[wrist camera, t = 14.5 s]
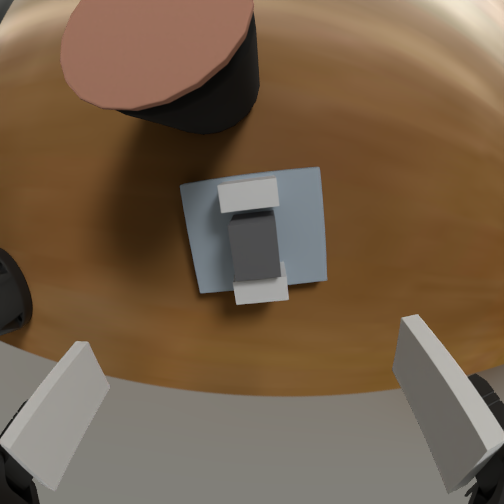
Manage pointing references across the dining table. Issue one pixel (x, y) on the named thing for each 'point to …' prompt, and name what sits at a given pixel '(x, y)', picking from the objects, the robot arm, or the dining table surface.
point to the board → (256, 200)
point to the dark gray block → (254, 245)
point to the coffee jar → (165, 60)
